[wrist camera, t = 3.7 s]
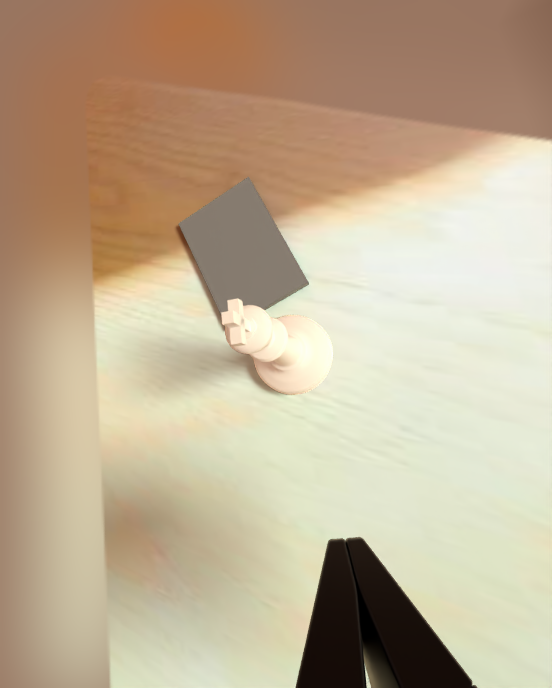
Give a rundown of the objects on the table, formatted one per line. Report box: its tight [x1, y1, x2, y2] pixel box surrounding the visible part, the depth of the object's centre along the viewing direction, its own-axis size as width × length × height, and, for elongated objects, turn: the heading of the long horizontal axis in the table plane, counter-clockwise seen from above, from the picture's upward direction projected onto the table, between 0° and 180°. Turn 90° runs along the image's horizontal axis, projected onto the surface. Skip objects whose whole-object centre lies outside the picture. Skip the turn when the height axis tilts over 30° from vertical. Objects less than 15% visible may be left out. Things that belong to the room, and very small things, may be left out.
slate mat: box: [179, 177, 309, 316], centre depth 23 cm, size 9×6×1 cm, turn 27°
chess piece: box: [221, 298, 333, 395], centre depth 17 cm, size 5×5×10 cm
